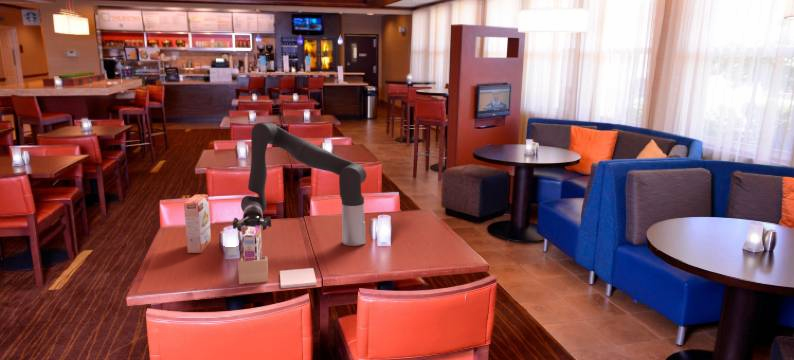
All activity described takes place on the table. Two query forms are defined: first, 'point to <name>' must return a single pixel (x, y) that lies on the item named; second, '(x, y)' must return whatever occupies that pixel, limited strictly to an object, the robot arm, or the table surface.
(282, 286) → the ceramic tile
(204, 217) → the cracker box
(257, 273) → the kraft carton
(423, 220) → the table surface
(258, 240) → the candy bar box
